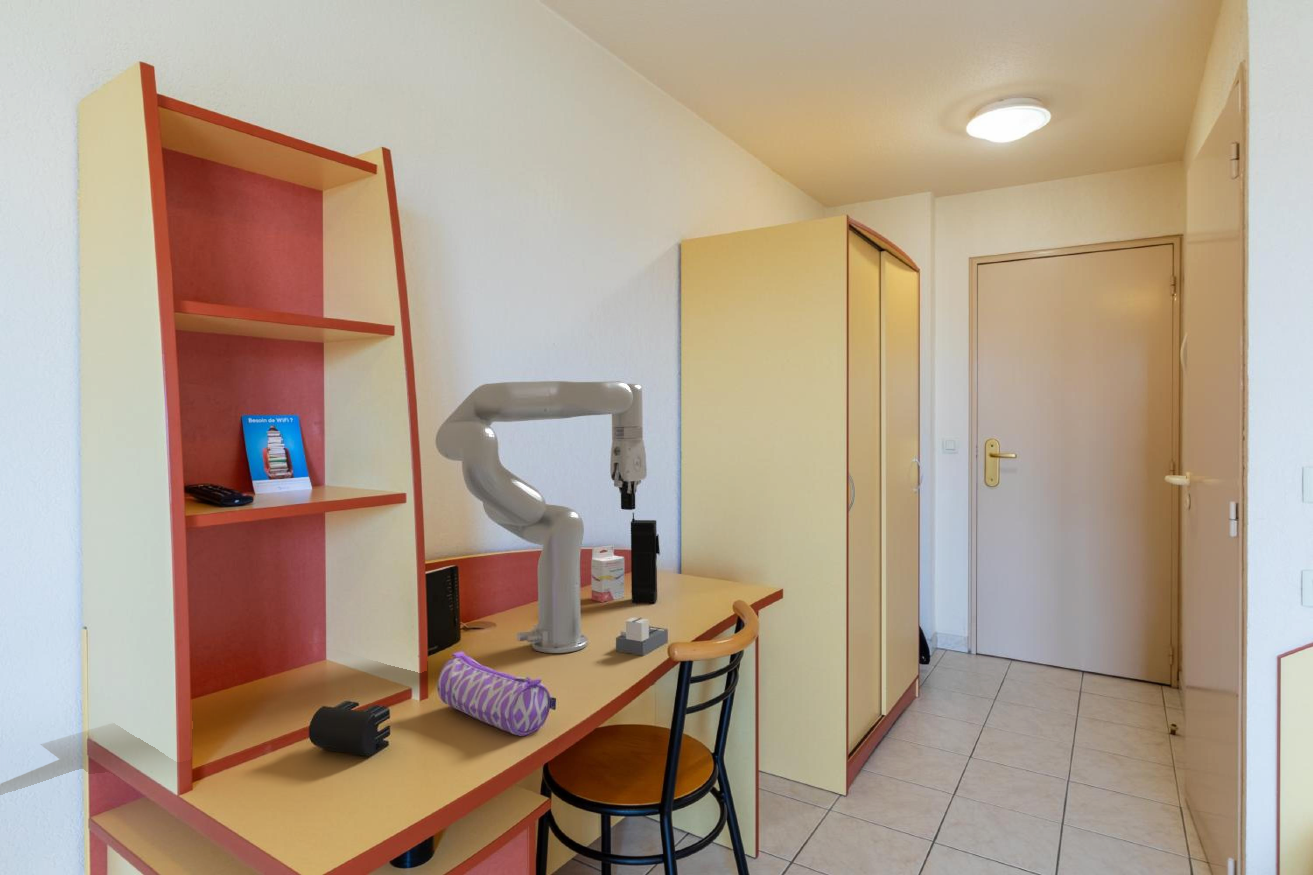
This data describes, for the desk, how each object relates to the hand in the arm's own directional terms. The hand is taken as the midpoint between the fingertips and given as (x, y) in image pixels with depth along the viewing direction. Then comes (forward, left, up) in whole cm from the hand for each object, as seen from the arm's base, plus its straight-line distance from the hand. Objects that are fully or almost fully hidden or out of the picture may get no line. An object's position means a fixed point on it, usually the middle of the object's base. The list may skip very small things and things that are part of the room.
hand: (628, 509), depth 177 cm
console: (-4, -15, -29) cm, 33 cm away
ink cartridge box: (+7, +28, -29) cm, 41 cm away
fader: (-7, -19, -26) cm, 33 cm away
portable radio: (+15, +20, -29) cm, 39 cm away
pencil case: (-44, -37, -30) cm, 65 cm away
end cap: (-67, -38, -29) cm, 82 cm away
